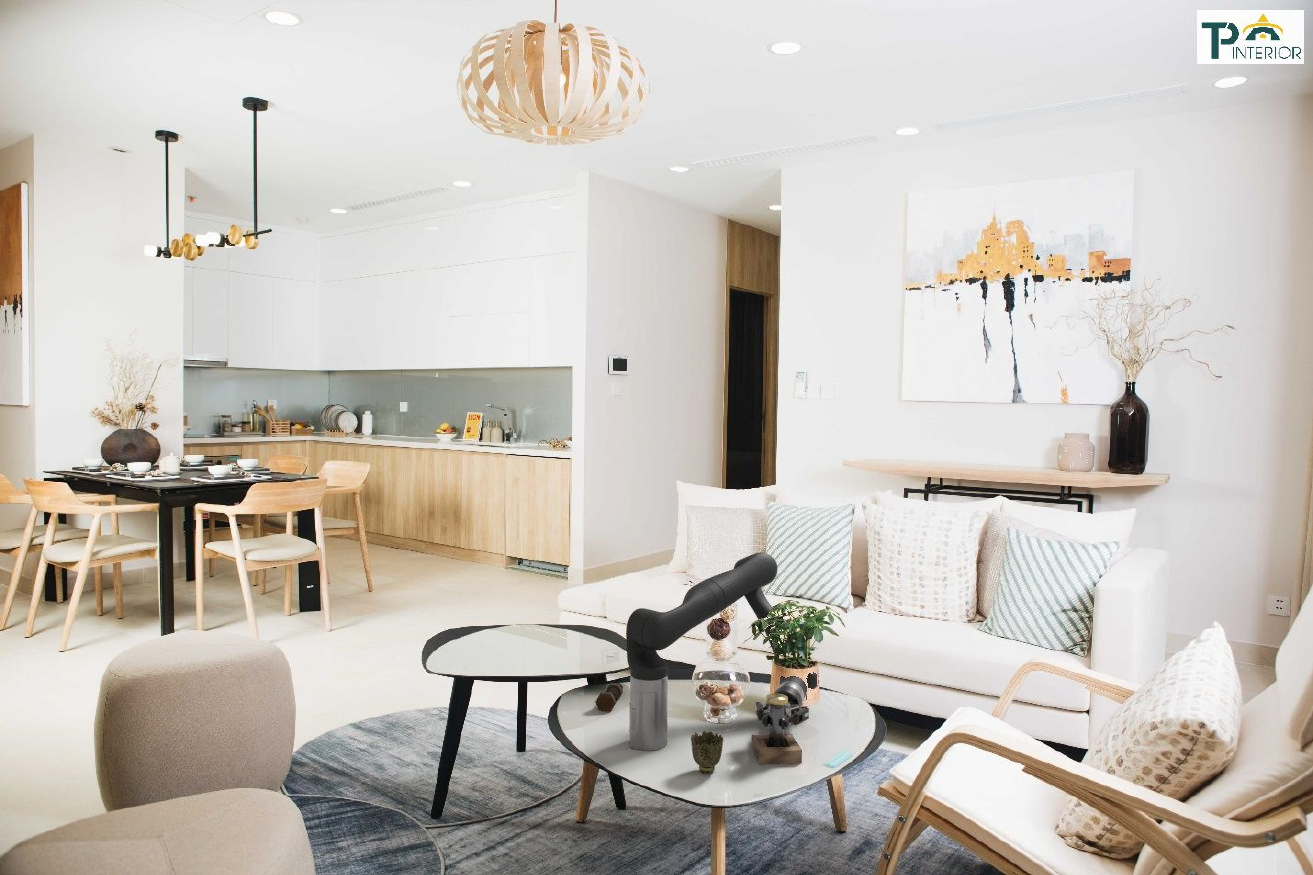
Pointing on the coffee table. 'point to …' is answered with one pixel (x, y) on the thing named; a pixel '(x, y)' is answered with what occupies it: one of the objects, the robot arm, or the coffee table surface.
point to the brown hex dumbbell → (609, 697)
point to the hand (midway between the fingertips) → (774, 723)
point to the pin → (776, 718)
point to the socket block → (776, 750)
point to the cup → (707, 750)
